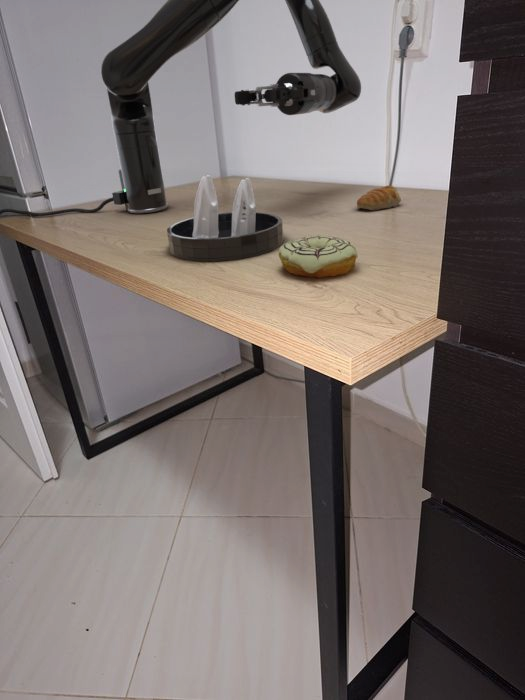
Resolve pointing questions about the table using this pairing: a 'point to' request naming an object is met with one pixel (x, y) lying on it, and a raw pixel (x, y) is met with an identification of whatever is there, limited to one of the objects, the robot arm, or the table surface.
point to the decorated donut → (318, 256)
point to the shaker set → (209, 210)
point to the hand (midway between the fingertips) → (255, 96)
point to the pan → (226, 239)
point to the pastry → (379, 198)
